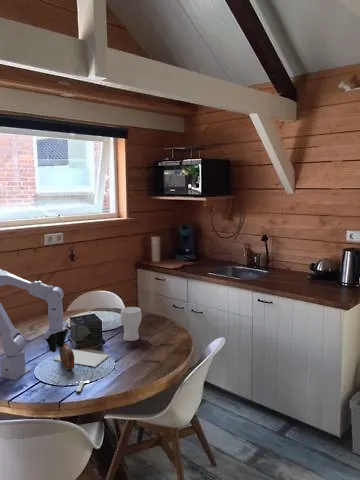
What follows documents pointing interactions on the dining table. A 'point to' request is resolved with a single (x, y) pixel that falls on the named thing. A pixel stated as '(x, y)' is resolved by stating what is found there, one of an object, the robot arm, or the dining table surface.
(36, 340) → the dining table surface
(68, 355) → the tin
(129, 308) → the cup
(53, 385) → the dining table surface
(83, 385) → the y-shaped peeler
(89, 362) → the board
